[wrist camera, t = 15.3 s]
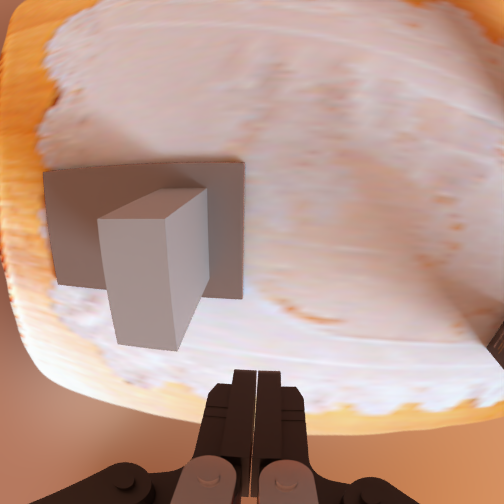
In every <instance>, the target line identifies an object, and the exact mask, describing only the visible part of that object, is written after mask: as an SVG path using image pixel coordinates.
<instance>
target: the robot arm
mask: <svg viewBox="0 0 504 504" xmlns="http://www.w3.org/2000/svg"><path fill="white" fill-rule="evenodd" d="M256 374H257V371H256V370H238V369H235V370H234V374H233V380H232V384H220V383H217V384H216V386H215V387H214V388H213V389H212V390H211V391H210V392H209V394H208V398H207V402H206V408H205V410H204V414H203V419H202V423H201V427H200V432H199V435H198V440H197V444H196V448H195V452H194V455H193V457H192V459H191V460H190V461H189V462H188V463H187V464H186V465H185V466H183V467H182V468H180V469H178V470H175V471H170V472H162V473H147V471H146V470H145V469H143V468H142V467H140V466H138V465H136V464H133V463H127V462H123V463H117V464H114V465H112V466H109V467H108V468H106V469H104V470H102V471H100V472H98V473H96V474H94V475H92V476H90V477H88V478H86V479H84V480H82V481H79V482H77V483H75V484H73V485H71V486H69V487H67V488H65V489H62V490H60V491H58V492H56V493H53V494H51V495H49V496H46V497H44V498H42V499H39V500H37V501H34V502H32V503H30V504H241V497H242V496H243V497H248V495H249V483H250V471H251V458H252V478H251V497H257V504H419V503H417V502H416V501H415V500H413V499H412V498H410V497H408V496H407V495H406V494H404V493H403V492H401V491H400V490H398V489H397V488H395V487H394V486H392V485H391V484H390V483H388V482H387V481H385V480H382V479H380V478H376V477H366V478H361V479H358V480H357V481H354V482H353V483H352V484H346V483H340V482H335V481H331V480H328V479H325V478H323V477H321V476H320V475H318V474H317V473H316V472H315V471H314V470H313V469H312V467H311V465H310V463H309V458H308V444H307V432H306V423H305V412H304V399H303V396H302V395H301V394H300V392H299V391H298V389H297V388H296V387H281V372H280V371H258V385H257V399H256ZM255 401H256V413H255ZM254 419H255V427H254ZM253 432H254V442H253ZM252 446H253V454H252Z"/></svg>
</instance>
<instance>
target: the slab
mask: <svg viewBox="0 0 504 504" xmlns="http://www.w3.org/2000/svg"><path fill="white" fill-rule="evenodd" d="M97 223H98V232H99V241H100V248H101V256H102V263H103V269H104V276H105V282H106V288H107V294H108V299H109V304H110V310H111V315H112V320H113V324H114V329H115V334H116V338H117V343H118V344H121V345H128V346H135V347H143V348H151V349H159V350H169V351H178V349H179V347H180V344H181V342H182V340H183V337H184V335H185V333H186V330H187V328H188V326H189V324H190V321H191V319H192V317H193V315H194V312H195V310H196V308H197V305H198V303H199V301H200V299H201V296H202V294H203V292H204V290H205V287H206V285H207V283H208V281H209V279H210V276H209V248H208V208H207V188H161V189H159V190H157V191H154V192H152V193H150V194H148V195H146V196H144V197H141V198H139V199H137V200H135V201H133V202H131V203H129V204H127V205H124V206H122V207H120V208H118V209H116V210H114V211H112V212H110V213H108V214H106V215H104V216H102V217H100V218H98V219H97Z"/></svg>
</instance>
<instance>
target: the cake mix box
mask: <svg viewBox="0 0 504 504" xmlns="http://www.w3.org/2000/svg"><path fill="white" fill-rule="evenodd" d="M487 349H488V351H489V352H490V353H491V354H492V356H493V357H494V358H495V359H496V360H497V362H498V363H499V364H500V365H501V367H502V368H503V369H504V322H503V324H502V325H501V327H500V328H499V330H498V331H497V333H496V335H495V336H494V338H493V339H492V341H491V342H490V343H489V345H488V346H487Z"/></svg>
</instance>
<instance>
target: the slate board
mask: <svg viewBox="0 0 504 504" xmlns="http://www.w3.org/2000/svg"><path fill="white" fill-rule="evenodd" d="M43 181H44V193H45V204H46V213H47V221H48V229H49V236H50V243H51V249H52V255H53V261H54V266H55V272H56V277H57V282H58V285H67V286H76V287H85V288H95V289H105V290H107V288H106V282H105V276H104V269H103V263H102V256H101V248H100V241H99V232H98V223H97V219H98V218H100V217H102V216H104V215H106V214H108V213H110V212H112V211H114V210H116V209H118V208H120V207H122V206H124V205H127V204H129V203H131V202H133V201H135V200H137V199H139V198H141V197H144V196H146V195H148V194H150V193H152V192H154V191H157V190H159V189H161V188H207V208H208V248H209V276H210V279H209V281H208V283H207V285H206V287H205V290H204V292H203V294H202V296H201V297H208V298H225V299H242V298H243V253H244V181H245V163H244V162H186V163H151V164H130V165H113V166H99V167H86V168H75V169H65V170H55V171H47V172H43Z"/></svg>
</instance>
